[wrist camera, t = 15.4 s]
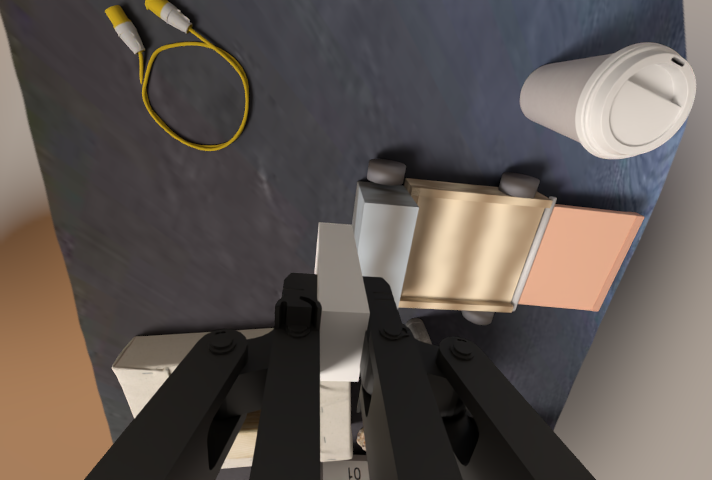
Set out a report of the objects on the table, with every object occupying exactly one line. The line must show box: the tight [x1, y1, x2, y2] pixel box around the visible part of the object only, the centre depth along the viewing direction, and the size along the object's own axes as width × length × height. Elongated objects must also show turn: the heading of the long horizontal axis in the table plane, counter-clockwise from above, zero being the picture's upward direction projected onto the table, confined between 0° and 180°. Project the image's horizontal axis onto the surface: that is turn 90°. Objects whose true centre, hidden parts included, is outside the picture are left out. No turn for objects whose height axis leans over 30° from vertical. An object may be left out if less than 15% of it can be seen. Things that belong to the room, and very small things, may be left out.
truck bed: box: [352, 159, 553, 325], centre depth 47 cm, size 24×21×8 cm
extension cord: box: [105, 0, 249, 151], centre depth 39 cm, size 12×16×2 cm
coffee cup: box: [520, 42, 696, 159], centre depth 37 cm, size 10×10×15 cm
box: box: [112, 328, 353, 469], centre depth 56 cm, size 23×8×32 cm
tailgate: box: [511, 196, 644, 311], centre depth 51 cm, size 2×17×13 cm
